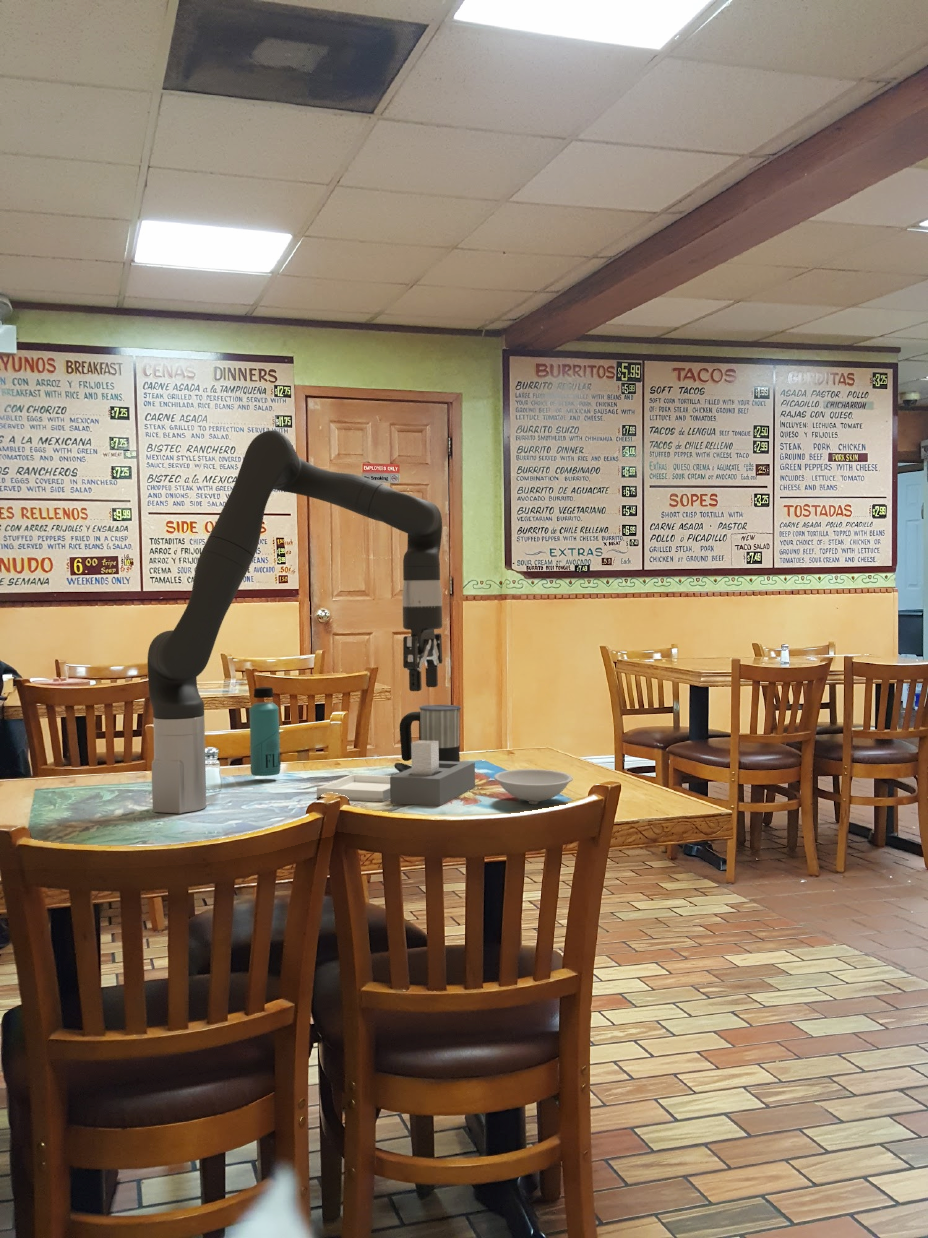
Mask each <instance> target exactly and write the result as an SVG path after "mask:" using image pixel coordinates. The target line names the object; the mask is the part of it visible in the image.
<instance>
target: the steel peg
mask: <svg viewBox="0 0 928 1238" xmlns="http://www.w3.org/2000/svg"><path fill="white" fill-rule="evenodd" d="M411 754H412V759H411V766H412V775H425V776H434V775H436V774H438V773H439V745H438V741H426V740H419V739H418V740H416V741H413V742H412V743H411Z"/></svg>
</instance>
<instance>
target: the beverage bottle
mask: <svg viewBox="0 0 928 1238" xmlns="http://www.w3.org/2000/svg"><path fill="white" fill-rule="evenodd" d="M253 698H255V699H267V698H274V690H273V687H269V686H261V687H255V688H254V689H253ZM279 709H280V707H279V706H278V705H276V703H274V702H256V703H253V704H252V705H251V706H250V707H249V735H250V738H249V739H250V742H249V756H250V759H249V762H250V774H251V776H255V777H269V776H276V775H277V776H278V775H279V774H280V772H281V764H282V762H281V743H280V739H281V738H280V735H281V732H280V728H281V727H280V725H281V724H280V718H279V717H280V715H279V714H280V713H279V711H280V710H279Z"/></svg>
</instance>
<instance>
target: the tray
mask: <svg viewBox="0 0 928 1238" xmlns="http://www.w3.org/2000/svg"><path fill="white" fill-rule="evenodd" d="M391 776H392V775H375V774H374V775H373V774H356V773H355V774H354V773H352V774H350V775H347V776H344V777H341V778H338V779H336V780H334V781H330V782H328V783H325V784H323V785H320V786H318V787H316V799H320V798H319V797H321V795H322V794H324V793H327V792H333V793H338V794H341V795H345V796H347V797H348V798H349V799H350V800H349V801H364V802H365V801H366V802H385V801H387V800H390V777H391Z"/></svg>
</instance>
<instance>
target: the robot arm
mask: <svg viewBox="0 0 928 1238" xmlns="http://www.w3.org/2000/svg"><path fill="white" fill-rule="evenodd" d="M274 490H276V491H280V492H284V493H285V492H286V493H289V494H290V493H291V494H294V495H295V494H296V495H301V496H303V497H308V498H312V499H316V500H319V501H323V502H325V503H326V502H327V503H329V504H332V505H335V506H338V507H340V508H343V509H346V510H349V511H351V512H352V513H355V514H358V515H361V516H363V517H365V518H367V519H370V520H375V521H378V522H381V523H383V524H384V523H385V524H386V525H388V526H390V527H391V528H394V529H396V530H399V531H401V532H403V533H405V534H407V548H406V552H405V553H404V554H403V560H402V571H403V572H402V577H403V578H402V581H403V583H402V592H401V593H402V600H401V601H402V627H403V629H404V630H407V631H409V630H410V631H411V632H410V636H409V635H406V636H405V635H404V636H403V641H402V643H403V645H402V650H403V651H402V652H403V654H402V656H403V659H402V660H403V661H402V667H403V669H406V670H407V671H408V684H409V685H408V686H409V687H408V689H409V691H410V692H421V690H422V669H423V668H422V667H423V663H424V664H425V667H426V668H425V685H426V686H425V687H426V688H436V687H438V685H439V683H438V681H439V680H438V679H439V678H438V677H439V676H438V672H439V671H438V668H439V666H440V664H443V646H442V645H443V641H442V634H441V633H437V632H435V630H440V629H441V628H442V627H443V595H442V594H443V593H442V587H441V566H440V551H441V544H442V538H443V537H442V534H443V519H442V518H443V517H442V513H441V510H440V509H439V507H438V506H437V504H434V503H433V502H431V501H430V500H429V501H428V500H425V499H423V498H419V497H416V496H413V495H410V494H408V493H405V492H401V491H399V490H395V489H393V488H392V487H390V486H388V485H386V484H383V483H382V482H378V481H375V480H374V479H370V478H368V477H365V476H361V475H358V474H354V473H346V472H345V473H344V472H335V471H330V470H326V469H323V468H320V467H318V466H316V465H313V464H311V463H309V462H307V461H306V460H304V459H303V458H301V457H299V455H298V454H297V451H296V450H295V448H294V446H293V444H292V442H291V440H290V439H289V438H288V437H287V435H285V434H284V433H282V432H281V431H278V430H273V429H272V430H270V429H269V430H266V431H264V432H261V433H259V434H258V435H256V436H255V437H254V438H253V439H252V440H251V441H250V443H249V445H248V447H247V449H246V450H245V454H244V455H243V459H242V462H241V465H240V468H239V471H238V474H237V477H236V479H235V481H234V485H233V486H232V489H231V492H230V493H229V496H228V498H227V500H226V501H225V504H224V505H223V508H222V510H221V511H220V513H219V516H218V518H217V520H216V521H215V524H214V526H213V528H212V530H211V532H210V534H209V535H208V537H207V539H206V541H205V544H204V546H203V548H202V549H201V552H200V554H199V557H198V559H197V563H196V566H195V570H194V574H193V575H194V576H193V580H192V581H193V583H192V589H191V593H190V597H189V600H188V603H187V605H186V607H185V609H184V612H183V614H182V615H181V616H180V618H179V620H178V623H177V624H176V626H175V627H174V628H173V630H165V631H163V632H161V633H158V635H156V636H155V637H154V638H153V639H152V641H150V645H149V647H148V652H147V680H148V681H147V682H148V695H149V696H148V698H149V701H150V704H151V707H152V719H153V722H152V726H153V760H152V761H151V792H152V793H151V794H152V795H151V799H152V801H151V802H152V803H151V804H152V812H153V813H166V814H167V813H169V814H183V813H188V812H189V813H190V812H196V811H201V810H203V809H205V808H207V782H206V779H207V778H206V777H207V776H206V775H207V774H206V773H207V772H206V736H205V734H206V733H205V731H206V729H205V703H204V700H203V698H202V697H201V695H200V691H199V690H198V681H197V680H198V679H197V677H198V676H200V675H201V674H202V672H203V671H204V670H205V669H206V667H207V665H208V663H209V660H210V658H211V654H212V652H213V649H214V646H215V644H216V641H217V638H218V634H219V632H220V629H221V627H222V623H223V622H224V619H225V617H226V615H227V612H228V610H229V608H230V607H231V605H232V604H233V603H232V602H233V601H234V599H235V597H236V595H237V593H238V590H239V588H240V586H241V584H242V582H243V581H244V578H246V577H245V576H246V575H247V573H248V571H249V568H250V566H251V565H252V563H253V560H254V559H255V558H254V557H255V555H256V553H257V550H258V546H259V543H260V538H261V533H262V529H263V522H264V516H265V511H266V507H267V504H268V502H269V499H270V496H271V494H272V492H273V491H274Z"/></svg>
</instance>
